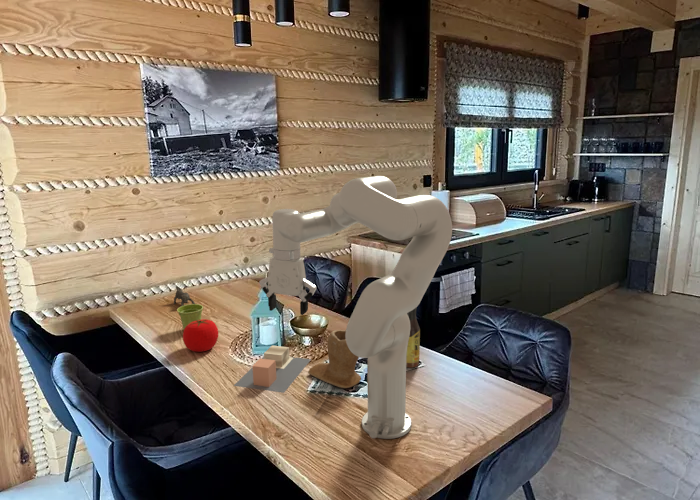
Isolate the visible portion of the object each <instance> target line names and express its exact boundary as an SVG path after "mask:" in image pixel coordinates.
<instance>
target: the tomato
mask: <svg viewBox="0 0 700 500" xmlns="http://www.w3.org/2000/svg"><path fill="white" fill-rule="evenodd" d="M218 339H219V328H218V326H217V325H216V323H215V322H214V321H213V320H211V319H207V318H206V319H205V318H201V320H196V321H193V322H191V323H190V324H188V325H187V326H186V327H185V329H183V333H182V340H183V344H184V345H185V347H186V348H187V349H188V350H190V351H192V352H195V353H196V352H197V353H200V352H201V353H202V352H206V351H210V350H211V349H212V348H214V347H215V346H216V344H217V343H218Z"/></svg>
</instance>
